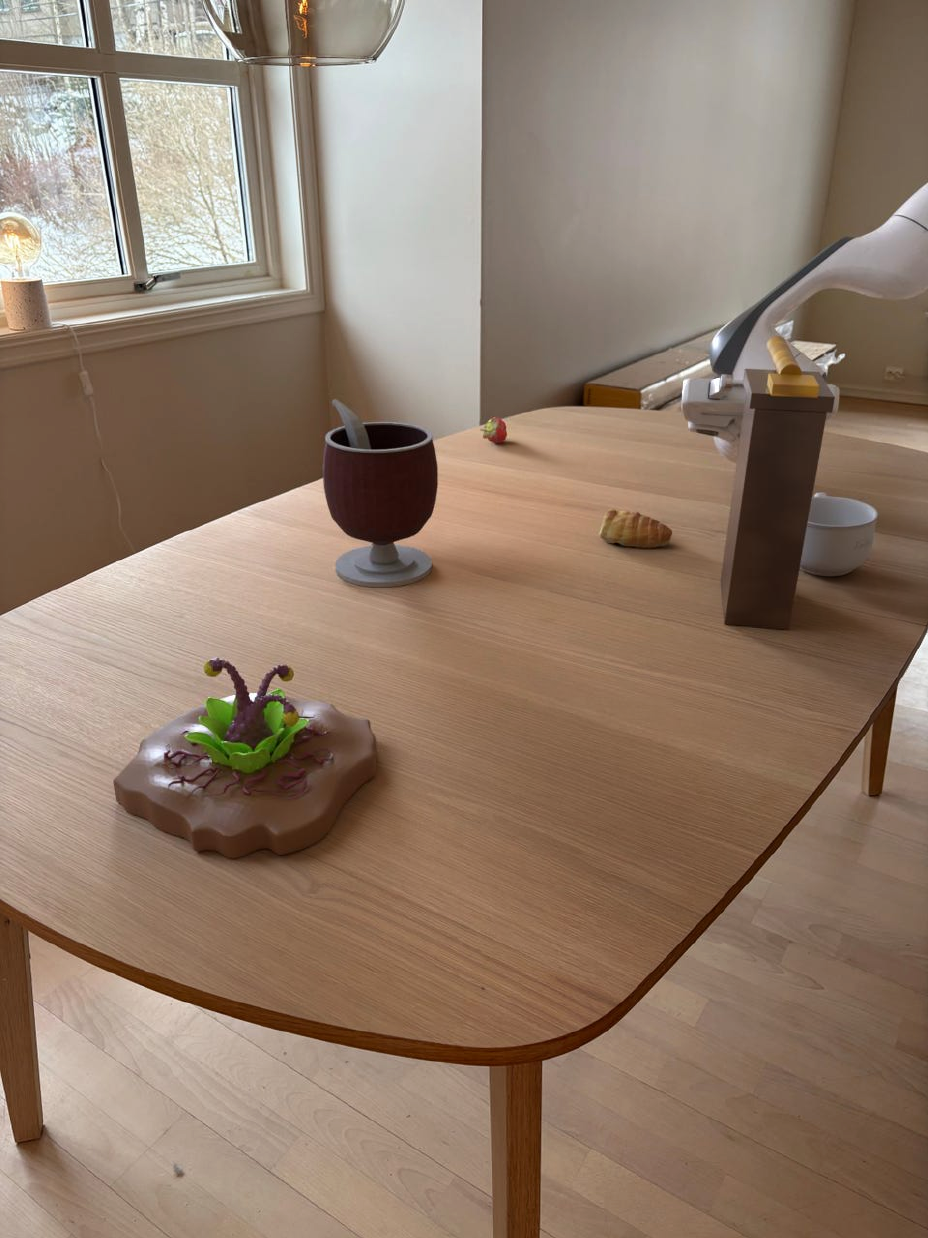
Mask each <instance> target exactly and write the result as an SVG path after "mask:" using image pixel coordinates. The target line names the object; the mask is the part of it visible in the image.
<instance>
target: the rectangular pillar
mask: <svg viewBox="0 0 928 1238" xmlns="http://www.w3.org/2000/svg"><path fill="white" fill-rule="evenodd" d="M769 374H777V371H776V370H763V369H745V370H744V378H743V385H744V389H745V392H746V397H745V404H744V412H743V419H742V426H741V434H740V441H739V449H738V456H737V463H736V462H735V464H736V465H735V471H734V479H733V486H732V494H731V500H730V501H731V502H730V507H729V508H730V509H729V516H728V523H727V530H726V536H725V537H726V539H725V544H724V551H723V558H722V561H723V562H722V565H721V566H722V567H721V574H720V593H721V603H722V615H723V625H729V626H738V627H739V626H740V627H749V628H751V627H752V628H761V629H762V628H763V629H771V630H772V629H773V630H782V631H785V630H786V631H790V627H791V626H790V625H791V619H792V615H793V608H794V603H795V597H796V591H797V586H798V581H799V580H798V579H799V573H800V570H801V569H800V563H801V558H802V552H803V546H804V541H805V535H806V529H807V523H808V518H809V512H810V506H811V501H812V497H813V496H814V495H813V494H814V488H815V484H816V477H817V472H818V465H819V461H820V455H821V448H822V443H823V437H824V431H825V427H826V421H827V420H826V415H827V413H832V411H833V406H834V400H835V397H834V395H833V393H832V392H831V390H830V389H829V387H828V385H827V384H828V383H827V384H826V382H825V380H824V379H823V377H822V375H821V374H820V372H808V371H802V375H813V376H814V378H815V380H816V381H817V383H818V385H819V391H818V397H817V398H807V397H785V396H771V394H770V391H769V388H768V385H767V383H768V375H769Z"/></svg>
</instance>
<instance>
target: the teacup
mask: <svg viewBox="0 0 928 1238" xmlns="http://www.w3.org/2000/svg"><path fill="white" fill-rule="evenodd" d="M878 518H879V512H878V510H877V509H876V508H874V506H873V505H870V504H868V503H866V502H863V501H860V500H859V499H858V500H857V499H853V498H849V497H848V498H847V497H841V496H832V495H831V496H829V494H828V493H826V492H816V493H815V494H814V495H813V496H812V501H811V506H810V512H809V518H808V523H807V529H806V535H805V541H804V546H803V552H802V558H801V563H800V569H799V570H801V571H803V572H805V573H807V574H810V575H814V576H819V577H820V576H821V577H840V576H843V575H847V574H849V573H851V572H852V571H854V570H856V569H857V568H859V567H861V566H862V565H863V564H864V563H865V562H866V561H867V560H868V558H869V556H870V553H871V550H872V546H873V542H874V536H875V532H876V525H877V524H876V523H877V520H878Z"/></svg>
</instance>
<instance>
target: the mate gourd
mask: <svg viewBox="0 0 928 1238" xmlns="http://www.w3.org/2000/svg"><path fill="white" fill-rule="evenodd" d="M331 405H332V406H333V407H335V408H336V410H337V412H338V413H339V416H340V417H341V420H342V423H343V426H339V427H336V428H334V429H332V430H330V431H328V432H327V433H326V434H325V436H324V441H325V444H324V449H323V458H322V485H323V491H324V496H325V502H326V505H327V509H328V511H329V514H330V516H331V518H332V520H333V521H334V522H335V523H336V525H337V526H338V527H339V528H340V529H341V530H342V531H343V533H344V534H346V535H347V536H349V537H350V538H352V539H355V540H359V541H364V542H367V543H372V544H371V545H367V546H361V547H358V548H355V549H351V550H348V551H346V552H344V553H343V554H341V555H340V556H339V557H338V558H337V559H336V561H335V565H334V566H335V573H336V575H337V576H338V577H339V579H341V580H343V581H345V582H347V583H350V584H352V585H356V586H361V587H367V588H394V587H401V586H406V585H410V584H413V583H416V582H419V581H421V580H423V579H424V578H426V577H427V576H428V575H429V574H430V573H432V569H433V560H432V558H431V556H430V555H429V554H428V553H426V552H425V551H422V550H421V549H418V548H415V547H411V546H407V545H400V544H395V542H399V541H403V540H405V539H409V538H411V537H414V536H415V535H417V534H419V533H420V531H421V530H422V529H423V528H424V526H425V525H426V524H427V522H428V521H429V520H430V519H431V517H432V516H433V513H434V509H435V505H436V500H437V494H438V485H439V481H438V480H439V479H438V478H439V477H438V476H439V475H438V473H439V472H438V469H439V468H438V460H437V454H436V447H435V444H434V440H433V438H434V435H433V432H431V430H429V428H426V427H424V426H420V425H417V424H412V423H406V422H398V421H397V422H396V421H394V422H393V421H370V422H369V421H368V422H362V421H361V419H360V418H359V417H358V416H357V414H356V413H355V412H354V411H352V410H351V409H350V408H349V407H347V406H346V405H345V404H344V403H343V402H340V400H338V399H337V398H334V399H332V401H331Z"/></svg>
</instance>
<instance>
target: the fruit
mask: <svg viewBox="0 0 928 1238" xmlns="http://www.w3.org/2000/svg"><path fill="white" fill-rule="evenodd" d="M483 427H484V428H480V429H479V431H480V432H483V434H482V438H483V439H484V440H488V441H489V442H491V443H493V444H502V443H503V442H505V441H506V439H507V437H508V431H507V425H506V422H504V420H503V419H501V418H500V417H494V416H492V417H491V418H490V419H489V420H487V421H486V423H485V425H484V426H483Z"/></svg>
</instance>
